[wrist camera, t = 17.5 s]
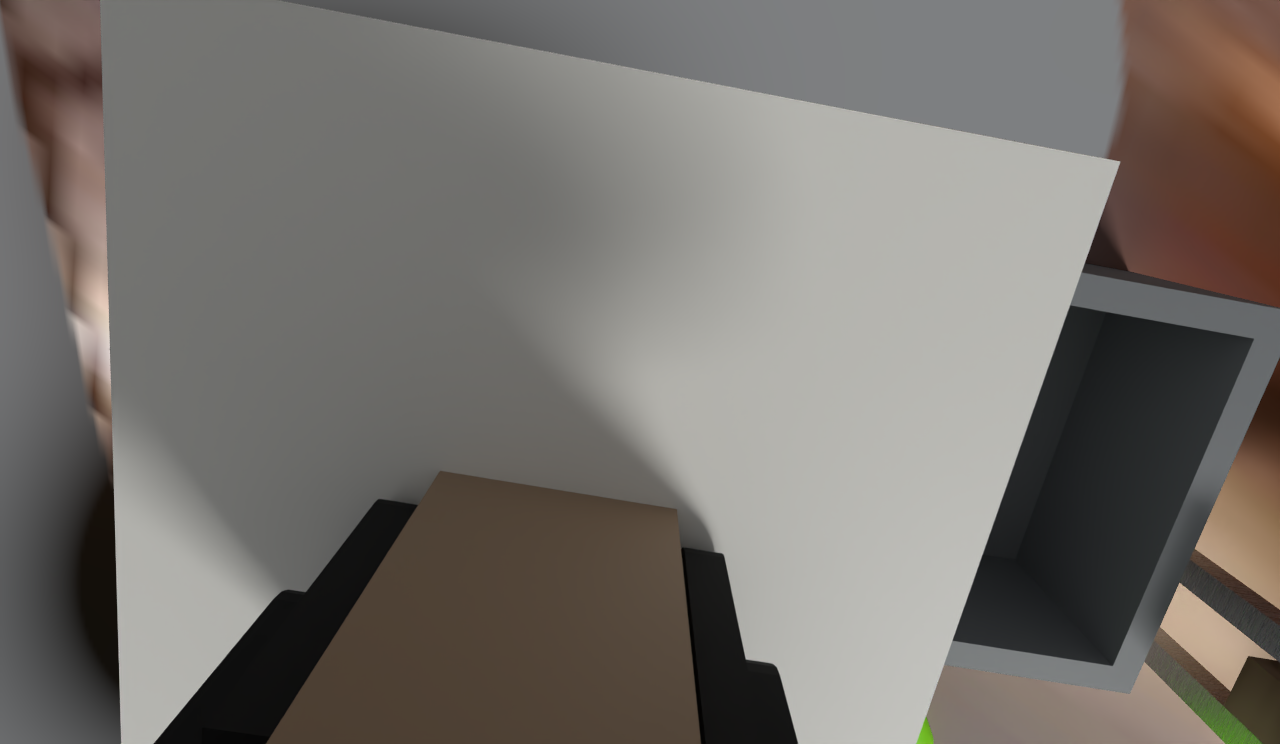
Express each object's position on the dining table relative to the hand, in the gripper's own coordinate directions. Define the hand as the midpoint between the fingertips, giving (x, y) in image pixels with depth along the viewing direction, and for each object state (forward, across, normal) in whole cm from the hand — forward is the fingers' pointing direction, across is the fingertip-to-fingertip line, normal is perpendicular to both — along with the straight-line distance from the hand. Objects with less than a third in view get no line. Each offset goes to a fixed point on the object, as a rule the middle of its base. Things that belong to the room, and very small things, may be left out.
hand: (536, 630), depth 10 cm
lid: (+2, 0, 0) cm, 2 cm away
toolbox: (+22, -17, +2) cm, 27 cm away
